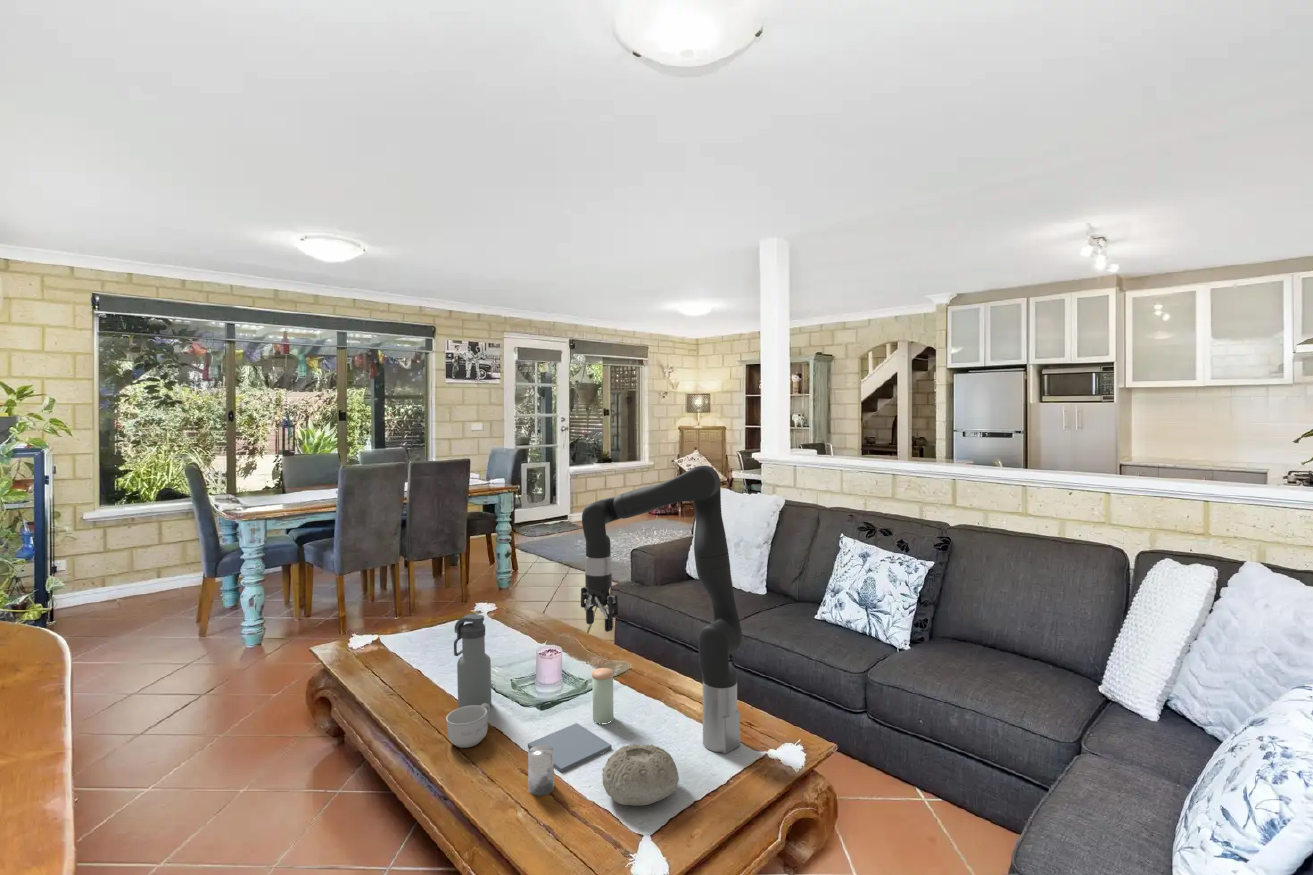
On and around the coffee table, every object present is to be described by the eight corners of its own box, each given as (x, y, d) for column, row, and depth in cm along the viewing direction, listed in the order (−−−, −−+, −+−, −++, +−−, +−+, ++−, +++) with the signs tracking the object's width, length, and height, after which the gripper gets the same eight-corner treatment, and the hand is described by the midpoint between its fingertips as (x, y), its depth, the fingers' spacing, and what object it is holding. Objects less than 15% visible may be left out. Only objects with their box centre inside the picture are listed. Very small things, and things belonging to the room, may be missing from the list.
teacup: (462, 757, 164) (462, 727, 163) (438, 744, 170) (437, 715, 170) (505, 734, 175) (504, 706, 174) (480, 723, 181) (480, 696, 181)
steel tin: (558, 788, 150) (558, 751, 150) (537, 799, 146) (536, 761, 146) (545, 777, 155) (544, 742, 154) (523, 787, 151) (523, 751, 150)
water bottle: (450, 712, 188) (448, 620, 186) (467, 697, 197) (465, 610, 196) (481, 716, 185) (479, 623, 184) (497, 701, 195) (495, 612, 193)
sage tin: (618, 719, 183) (618, 672, 182) (601, 727, 179) (600, 679, 178) (605, 711, 187) (604, 666, 187) (588, 719, 183) (587, 672, 182)
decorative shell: (637, 763, 160) (637, 725, 160) (693, 790, 149) (693, 749, 149) (587, 797, 147) (586, 756, 146) (645, 829, 135) (644, 784, 135)
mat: (611, 748, 167) (611, 745, 167) (561, 772, 157) (561, 768, 156) (576, 726, 179) (576, 722, 179) (527, 747, 168) (527, 743, 168)
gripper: (624, 573, 176) (625, 630, 177) (593, 564, 187) (594, 618, 187) (603, 578, 171) (604, 637, 172) (573, 569, 181) (573, 624, 182)
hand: (599, 627), depth 180 cm, fingers open, 8 cm apart
